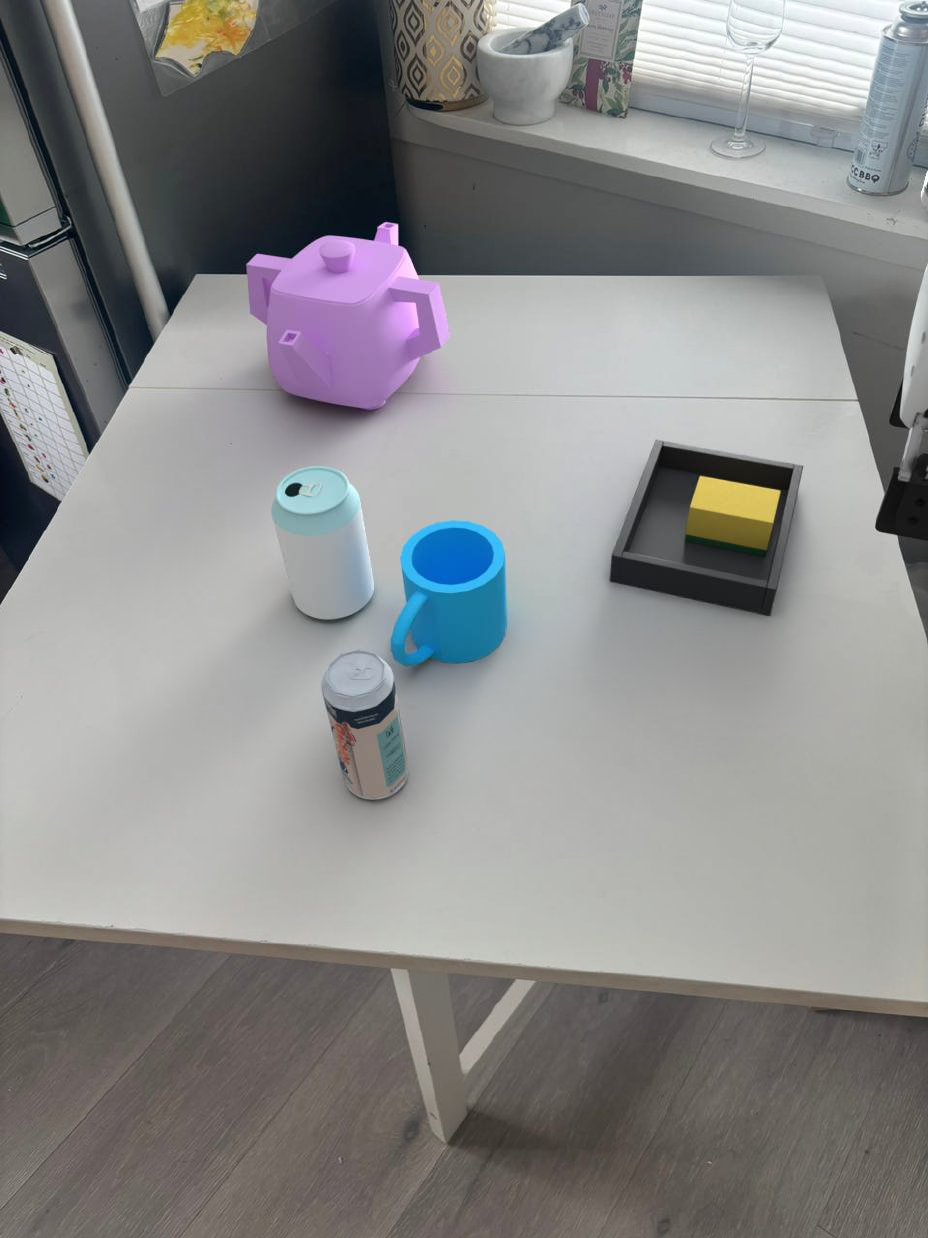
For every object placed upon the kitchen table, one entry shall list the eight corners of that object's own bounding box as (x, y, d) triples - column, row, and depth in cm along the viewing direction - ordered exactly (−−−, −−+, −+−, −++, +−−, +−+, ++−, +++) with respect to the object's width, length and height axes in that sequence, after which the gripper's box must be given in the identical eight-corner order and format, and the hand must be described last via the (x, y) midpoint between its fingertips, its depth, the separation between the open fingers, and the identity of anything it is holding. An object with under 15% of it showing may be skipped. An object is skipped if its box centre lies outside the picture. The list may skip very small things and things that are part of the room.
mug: (448, 578, 87) (442, 507, 81) (526, 616, 83) (525, 544, 77) (360, 665, 81) (346, 595, 75) (439, 710, 77) (432, 641, 71)
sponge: (772, 524, 89) (780, 490, 86) (765, 557, 86) (773, 522, 83) (694, 509, 90) (699, 475, 88) (684, 541, 88) (689, 506, 85)
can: (309, 635, 83) (283, 529, 74) (283, 583, 88) (255, 476, 79) (387, 607, 85) (370, 499, 76) (357, 556, 89) (338, 449, 80)
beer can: (348, 749, 75) (324, 644, 66) (411, 749, 75) (395, 644, 66) (341, 803, 72) (314, 701, 63) (406, 803, 72) (389, 701, 63)
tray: (797, 491, 92) (803, 465, 90) (769, 616, 82) (776, 590, 80) (652, 464, 96) (655, 439, 94) (609, 581, 86) (611, 555, 83)
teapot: (302, 449, 100) (275, 314, 89) (247, 362, 112) (217, 233, 101) (472, 394, 106) (465, 260, 95) (403, 316, 117) (390, 188, 106)
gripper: (1130, 280, 37) (979, 597, 50) (1103, 105, 48) (984, 401, 61) (918, 255, 39) (824, 565, 52) (938, 93, 50) (856, 382, 63)
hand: (910, 477), depth 56 cm, fingers open, 9 cm apart
